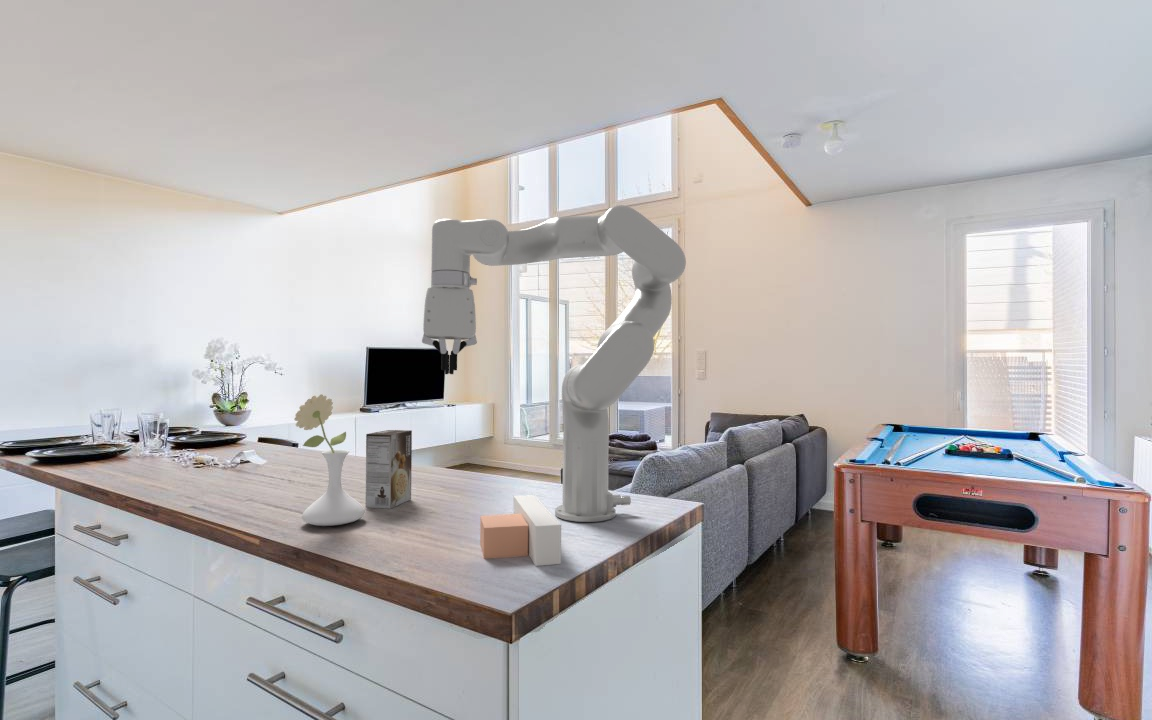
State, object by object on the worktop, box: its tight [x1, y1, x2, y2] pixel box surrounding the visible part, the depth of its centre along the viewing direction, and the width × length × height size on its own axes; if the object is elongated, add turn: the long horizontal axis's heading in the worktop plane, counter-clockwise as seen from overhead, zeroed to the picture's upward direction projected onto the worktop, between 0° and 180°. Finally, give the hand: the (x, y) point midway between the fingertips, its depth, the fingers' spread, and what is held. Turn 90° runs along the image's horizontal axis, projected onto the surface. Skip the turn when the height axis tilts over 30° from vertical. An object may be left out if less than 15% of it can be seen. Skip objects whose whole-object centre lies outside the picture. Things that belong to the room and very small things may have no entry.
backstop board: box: [512, 494, 562, 567], centre depth 96 cm, size 4×22×6 cm, turn 15°
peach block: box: [479, 513, 529, 559], centre depth 93 cm, size 7×8×5 cm
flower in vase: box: [293, 393, 366, 527], centre depth 108 cm, size 13×11×25 cm
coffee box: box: [365, 429, 413, 510], centre depth 125 cm, size 9×6×16 cm
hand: (449, 374), depth 112 cm, fingers closed
